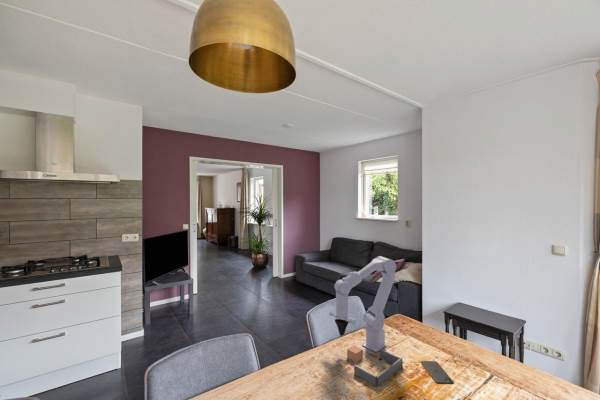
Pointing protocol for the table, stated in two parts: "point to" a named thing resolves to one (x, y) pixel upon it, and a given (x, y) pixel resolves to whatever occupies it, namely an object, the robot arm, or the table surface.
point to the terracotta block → (354, 353)
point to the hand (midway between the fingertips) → (342, 334)
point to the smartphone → (437, 372)
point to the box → (384, 374)
